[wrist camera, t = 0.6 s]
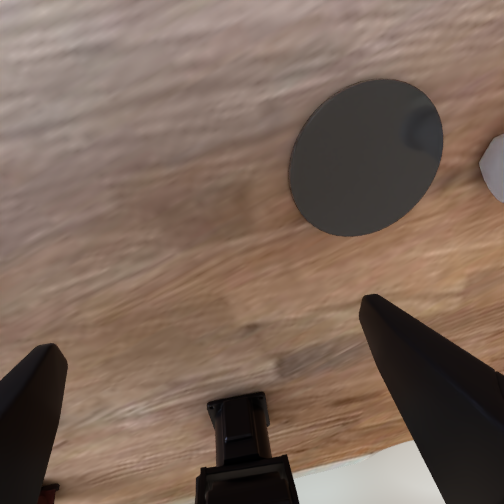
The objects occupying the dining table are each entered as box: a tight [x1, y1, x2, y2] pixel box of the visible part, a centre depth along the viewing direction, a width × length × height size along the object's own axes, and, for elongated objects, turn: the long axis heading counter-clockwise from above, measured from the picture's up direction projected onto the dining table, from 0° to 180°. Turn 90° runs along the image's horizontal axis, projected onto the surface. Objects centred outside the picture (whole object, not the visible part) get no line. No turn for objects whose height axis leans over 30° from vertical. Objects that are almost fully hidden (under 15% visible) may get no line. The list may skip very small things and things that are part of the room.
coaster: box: [289, 79, 443, 237], centre depth 22 cm, size 11×11×1 cm
